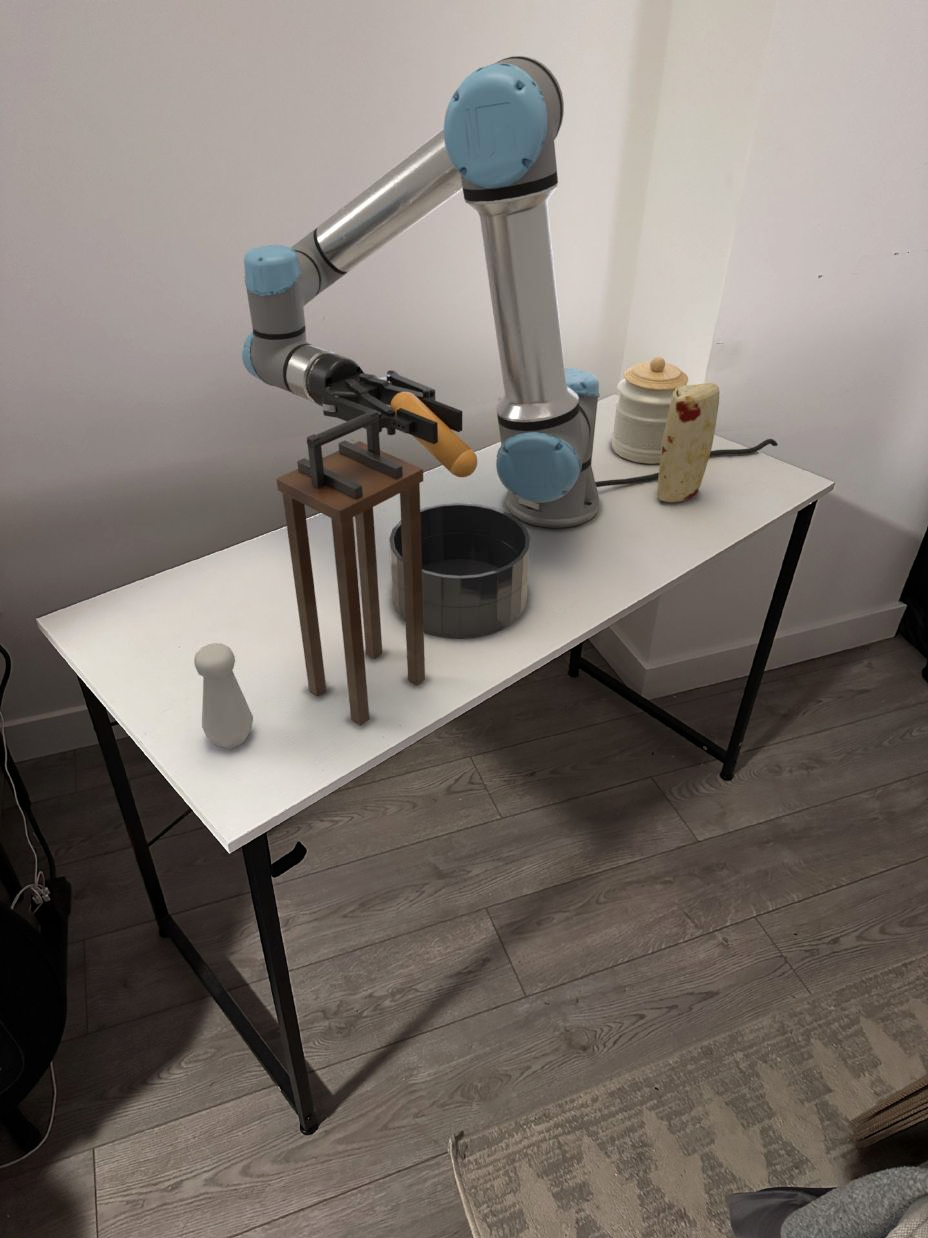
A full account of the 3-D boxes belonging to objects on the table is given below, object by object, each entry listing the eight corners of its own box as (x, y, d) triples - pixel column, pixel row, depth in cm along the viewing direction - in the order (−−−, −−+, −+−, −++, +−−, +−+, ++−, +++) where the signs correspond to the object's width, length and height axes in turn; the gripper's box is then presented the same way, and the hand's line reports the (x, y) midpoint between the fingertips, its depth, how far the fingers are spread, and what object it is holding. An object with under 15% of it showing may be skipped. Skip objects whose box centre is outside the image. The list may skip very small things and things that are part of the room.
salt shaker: (237, 760, 102) (219, 674, 94) (195, 746, 103) (174, 661, 95) (264, 726, 106) (249, 642, 98) (224, 714, 108) (205, 630, 100)
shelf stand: (305, 691, 111) (269, 429, 90) (374, 646, 118) (356, 394, 97) (359, 728, 106) (335, 460, 84) (428, 679, 113) (422, 420, 92)
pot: (512, 555, 136) (515, 498, 130) (539, 632, 121) (543, 571, 115) (387, 565, 134) (384, 507, 128) (399, 644, 119) (396, 583, 113)
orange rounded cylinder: (380, 413, 117) (388, 390, 114) (402, 404, 120) (409, 381, 117) (457, 487, 114) (466, 466, 111) (477, 477, 116) (487, 455, 113)
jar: (609, 432, 171) (620, 342, 160) (677, 435, 170) (692, 345, 159) (611, 463, 161) (622, 369, 150) (683, 467, 159) (700, 373, 149)
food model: (671, 512, 147) (690, 398, 134) (643, 496, 151) (659, 384, 139) (712, 496, 151) (734, 384, 139) (684, 480, 155) (703, 371, 143)
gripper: (372, 386, 132) (490, 432, 120) (282, 422, 122) (402, 477, 110) (369, 337, 128) (492, 379, 115) (275, 370, 118) (399, 421, 105)
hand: (447, 427), depth 113 cm, fingers closed on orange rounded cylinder, 4 cm apart
